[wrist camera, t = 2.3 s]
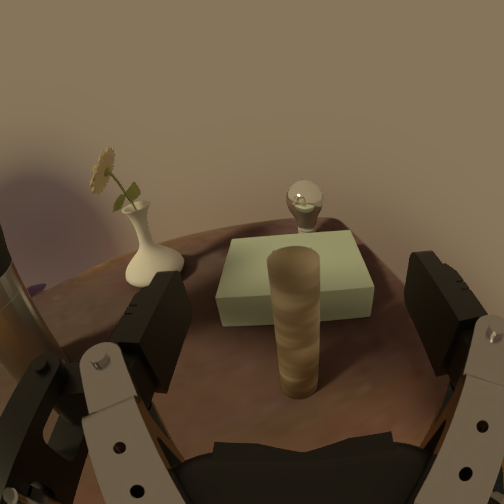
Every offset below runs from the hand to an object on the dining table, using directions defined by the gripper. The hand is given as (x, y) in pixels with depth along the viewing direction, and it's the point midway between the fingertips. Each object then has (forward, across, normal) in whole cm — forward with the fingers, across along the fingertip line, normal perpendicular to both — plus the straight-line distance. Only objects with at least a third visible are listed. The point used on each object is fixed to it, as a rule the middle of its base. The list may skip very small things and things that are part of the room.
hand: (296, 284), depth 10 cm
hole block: (+29, 0, +22) cm, 36 cm away
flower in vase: (+34, +25, +22) cm, 48 cm away
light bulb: (+44, -3, +22) cm, 49 cm away
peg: (+11, 0, +22) cm, 25 cm away
